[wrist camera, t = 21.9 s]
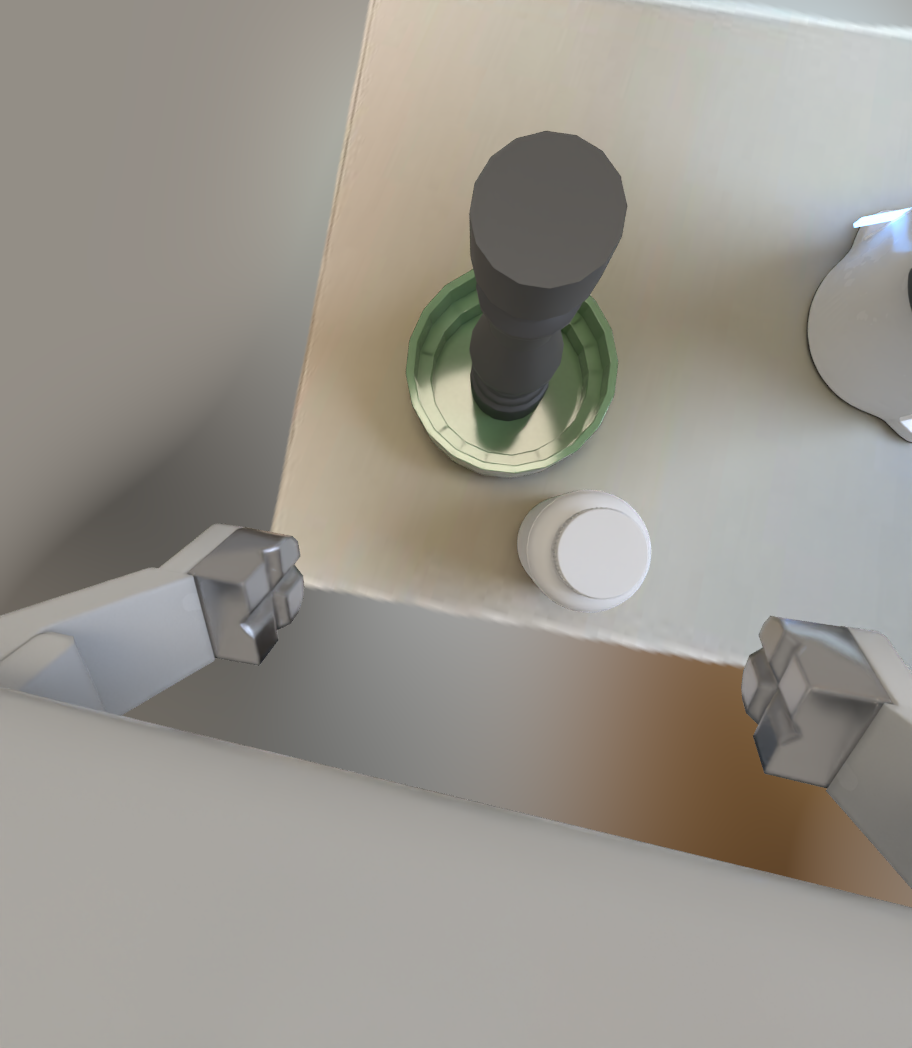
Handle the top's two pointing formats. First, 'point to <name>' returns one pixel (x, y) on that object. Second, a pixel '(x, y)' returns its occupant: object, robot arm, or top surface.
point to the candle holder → (536, 260)
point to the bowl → (500, 444)
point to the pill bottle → (585, 550)
